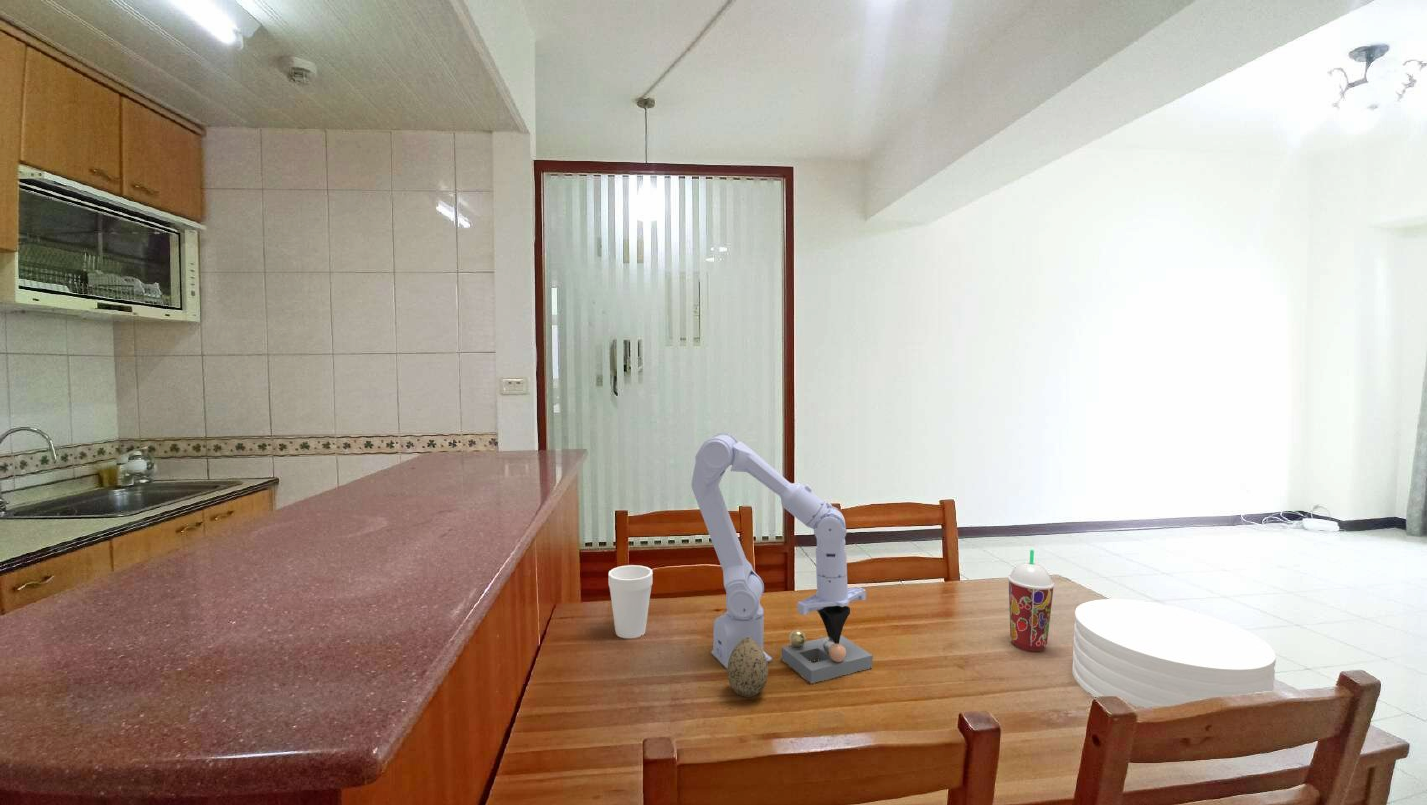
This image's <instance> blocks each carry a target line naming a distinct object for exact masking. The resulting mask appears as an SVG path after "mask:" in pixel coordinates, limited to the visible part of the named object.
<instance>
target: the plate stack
mask: <svg viewBox="0 0 1427 805" xmlns="http://www.w3.org/2000/svg"><path fill="white" fill-rule="evenodd" d="M1073 628H1074V629H1073V632H1074V636H1073V652H1072V671H1071V673H1072V675H1073V677H1074V680H1075V681H1076V682H1077V684H1078V685H1079V686H1080V687H1081V688H1082V689H1083V690H1085V691H1086V692H1087V693H1088V692H1089V693H1091V694H1092V695H1091V694H1090V695H1091V696H1092V697H1094V698H1095V697H1098V696H1119V697H1121V698H1122V699H1124V700H1125V701H1128V702H1129V703H1131V704H1132V705H1134V706H1136V707H1138V706H1141V707H1144V708H1149V707H1154V706H1171V705H1175V704H1179V703H1184V702H1188V701H1196V700H1200V699H1205V698H1210V697H1215V696H1232V695H1239V694H1247V693H1255V692H1263V691H1273V690H1274V691H1275V684H1274V682H1275V677H1276V676H1275V675H1276V669H1275V667H1276V662H1277V656H1276V652H1275V650H1274V649H1273V648H1272V647H1271V645H1270V644H1269V643H1267V642H1266V641H1264V640H1263V639H1261V637H1259V636H1257V635H1256V634H1254V633H1252V632H1249V631H1248V630H1246V629H1244V628H1242V627H1239V626H1237V625H1235V624H1233V623H1229V622H1227V621H1224V620H1222V619H1219V618H1217V617H1215V616H1214V617H1213V616H1210V615H1207V614H1203V613H1200V612H1196V611H1193V610H1189V609H1185V608H1181V607H1178V606H1177V607H1176V606H1174V605H1173V606H1172V605H1168V604H1163V603H1158V602H1151V601H1145V600H1144V601H1143V600H1134V599H1121V598H1120V599H1119V598H1117V599H1116V598H1113V599H1112V598H1108V599H1107V598H1106V599H1095V600H1091V601H1086V602H1083V603H1081V604H1079V605H1078V606H1077V607H1076V609H1075V610H1074V627H1073ZM1089 693H1088V694H1089Z"/></svg>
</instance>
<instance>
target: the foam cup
mask: <svg viewBox="0 0 1427 805" xmlns="http://www.w3.org/2000/svg"><path fill="white" fill-rule="evenodd" d="M653 574H654V573H653V569H651V568H650V567H648V566H644V565H634V564H628V565H621V566H617V567H614V568H612V569H611V570H608V587H609V592H610V598H611V599H610V601H611V607H612V615H613V621H614V623H613V624H614V630H615V635H617V637H619V638H621V639H622V638H623V639H637V638H639V637H642V636H643V635H644V634H645V633H646V630H647V629H646V628H647V624H648V623H647V622H648V615H649V614H648V613H649V606H650V599H651V598H650V597H651V591H652V585H653V580H654V579H653ZM641 635H642V636H641Z"/></svg>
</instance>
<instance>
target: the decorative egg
mask: <svg viewBox="0 0 1427 805" xmlns="http://www.w3.org/2000/svg"><path fill="white" fill-rule="evenodd" d="M763 651H764V650H763ZM763 651H762V649H761V647H760V646H759V645H758V644H757V643H756V642H755V641H754V640H753V639H751V638H744V639H742V640H741V641H740V642H739V643H738V644H737V645H736V646H735V648H734V649H733V651H732V653H731V655H730V657H729V661H728V666H727V668H726V673H727V679H728V680H727V681H729V684H730V686H731V688H732V689H733V691H734V692H735V693H736V694H738V695H740V696H742V697H745V698H746V697H747V698H749V697H753V696H756V695H758V694H759V693H760V692H762V690H763V689H764V688H765V686H766V684H767V681H768V678H769V665H768V662H767V660H766V657H765V654H764V652H765V651H764V652H763Z"/></svg>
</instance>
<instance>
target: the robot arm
mask: <svg viewBox="0 0 1427 805" xmlns="http://www.w3.org/2000/svg"><path fill="white" fill-rule="evenodd" d="M694 459H695V460H694V461H695V463H694V469H693V473H692V479H691V489H692V492H693V495H694V497H695V500H696V503H697V505H698V508H699V511H700V514H701V516H702V518H703V521H704V524H705V526H706V530H707V532H708V535H709V537H710V540H711V543H712V545H713V548H714V550H715V553H716V556H717V558H718V561H719V564H720V566H721V570H722V574H723V586H724V587H723V588H724V590H725V592H726V593H725V594H726V597H725V606H726V612H724V613H723V614H722V615H719V616H717V617H716V618H714V621H713V629H712V630H713V633H712V634H713V636H712V638H713V639H712V640H713V641H712V642H713V643H712V644H713V646H712V650H711V654H712V655H713V656H714V657H715V658H716V659H717V661H719V662H720V663H721V664H722V665H723V666H724V667H725V668H726V669H727V666H728V661H729V657H730V655H731V653H732V651H733V649H734V648H735V646H736V645H737V644H738V643H739V642H740V641H741V640H742V639H744V638H751V639H753V640H754V641H755V642H756V643H757V644H758V645H759V646H760V647H761V649H762V651H763V652H764V654H765V657H766V660H767V663H768V662H772V659H773V658H772V656H770V655H769V654H768V653H766V652H765V651H764V621H765V620H764V615H765V614H764V608H763V607H762V604H761V598H762V596H763V594H764V591H765V585H764V582H763V579H762V578H761V577H760V575H759V574H757V573H756V571H754V570H755V569H754V568H753V565H752V564H751V562H749V560H748V559H747V558H746V555H745V552H744V550H743V547H742V545H741V541H740V539H739V536H738V534H737V531H736V528H735V526H734V523H733V521H732V518H731V515H730V512H729V510H728V506H727V504H726V502H725V499H724V497H723V494H722V491H721V489H720V486H719V485H720V482H721V480H722V479H723V477H724V474H725V473H726V470H727V468H729V467H730V466H731V468H730V472H739V473H740V472H741V473H747V474H749V475H750V476H751V477H753V478H755V480H757V481H759V482H760V483H761V484H763V486H765V487H766V488H768V489H769V490H771V491H772V492H773V493H775V494H776V495H777V496H779V497H780V503H781V507H782V508H783V509H785V510H786V511H787V512H788V513H790V515H792V516H793V517H794V518H796V519H797V520H798V521H799V522H801V523H802V524H803V525H805V526H806V527H807V528H810V529H812V530H813V534H814V536H815V538H816V548H815V568H816V570H815V571H816V576H815V577H816V593H815V594H813V595H811V596H809V597H807V598H805V599H803V600H800V601H797V612H798V613H799V614H801V615H803V616H806V615H809V613H811V612H815V611H817V613H818V614H819V616H820V618H821V620H822V623H823V625H824V629H825V631H826V634H827V637H828V636H829V637H831V638H832V639H833V641H834V642H835V644H836V643H838V644H839V641H840V636H841V635H842V631H843V628H844V625H845V623H846V621H847V619H848V617H849V615H850V614H851V608H850V607H849V605H850V602H855V601H858V600H860V601H866V600H867V591H866V589H864V588H862V587H860V586H858V587H851V588H848V564H847V561H848V560H847V558H848V557H847V549H846V547H845V546H846V536H847V532H848V530H847V528H846V520H845V517H844V515H843V513H842V512H841V511H840V509H839V508H837V507H835V506H833V505H832V503H830V502H829V501H827V502H825V501H824V500H823V499H821V498H820V497H819V496H818V495H817V494H815V493H814V492H813V491H812V490H813V487H811V486H810V485H809V484H807V483H806V484H805V485H803V484H802V482H793V483H792V482H790V481H789V480H787V479H786V478H785V477H784V476H783V475H782V474H780V472H778V471H777V470H776V469H775V468H774V467H772V465H770V464H769V463H767V461H766V460H764V459H763V458H762V457H761V456H759V454H757V453H756V452H755V451H754V450H753V449H751V448H750V447H749V446H747V444H745V443H744V442H742V441H740V440H739V441H738V440H737V439H736V438H735V437H734V436H733V435H731V434H729V433H725V432H722V433H718V434H716V435H714V436H712V438H708V439H707V440H706V441H704V443H703V444H702V445H701V446H700V448H699V450H698V451H697V452H696V455H695V457H694Z"/></svg>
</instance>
